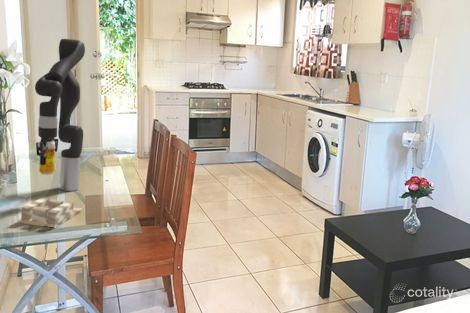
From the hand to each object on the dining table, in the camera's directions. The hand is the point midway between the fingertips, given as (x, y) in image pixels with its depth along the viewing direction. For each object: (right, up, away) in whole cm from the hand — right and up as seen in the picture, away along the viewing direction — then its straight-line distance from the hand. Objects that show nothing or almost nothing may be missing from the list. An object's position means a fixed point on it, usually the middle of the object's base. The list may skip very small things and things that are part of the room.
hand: (47, 163), depth 181 cm
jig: (+8, -22, -12) cm, 26 cm away
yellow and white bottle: (-1, -5, +1) cm, 5 cm away
